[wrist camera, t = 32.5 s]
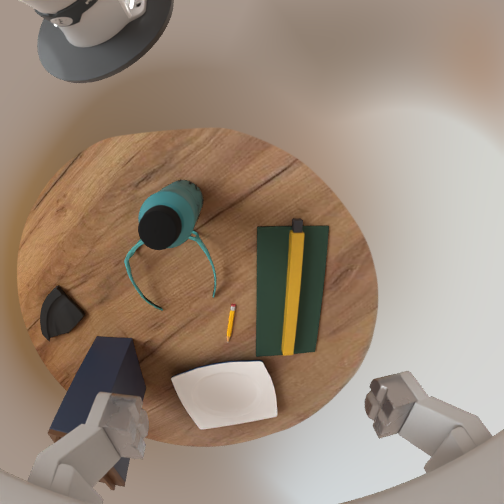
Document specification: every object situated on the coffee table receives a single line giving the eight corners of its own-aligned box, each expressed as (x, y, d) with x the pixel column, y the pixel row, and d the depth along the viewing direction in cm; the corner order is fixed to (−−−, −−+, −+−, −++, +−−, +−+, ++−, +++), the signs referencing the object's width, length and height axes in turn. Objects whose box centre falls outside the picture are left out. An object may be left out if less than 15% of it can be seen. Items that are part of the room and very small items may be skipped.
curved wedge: (31, 316, 49) (28, 319, 47) (59, 282, 47) (55, 286, 46) (56, 343, 52) (53, 347, 50) (87, 314, 50) (84, 318, 48)
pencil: (235, 303, 52) (236, 305, 51) (229, 341, 55) (229, 343, 54) (231, 303, 52) (231, 305, 51) (225, 341, 55) (225, 343, 54)
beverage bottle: (166, 220, 46) (130, 268, 27) (162, 179, 43) (118, 201, 25) (207, 216, 46) (195, 263, 27) (203, 175, 44) (187, 192, 25)
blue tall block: (96, 336, 52) (44, 439, 26) (132, 337, 52) (91, 451, 27) (113, 385, 56) (82, 483, 31) (146, 387, 57) (123, 492, 31)
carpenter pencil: (290, 217, 47) (292, 220, 45) (302, 218, 47) (305, 220, 45) (281, 349, 56) (283, 355, 54) (291, 348, 56) (293, 355, 54)
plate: (166, 366, 55) (164, 375, 53) (264, 347, 56) (265, 356, 53) (198, 423, 62) (197, 432, 60) (280, 409, 63) (282, 417, 60)
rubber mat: (257, 226, 47) (257, 227, 47) (328, 225, 48) (329, 226, 48) (256, 355, 56) (256, 356, 56) (314, 350, 57) (315, 351, 57)
